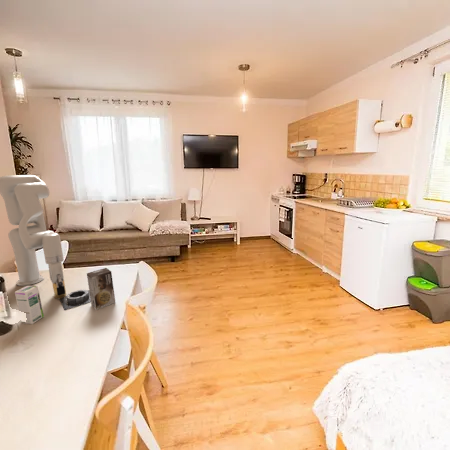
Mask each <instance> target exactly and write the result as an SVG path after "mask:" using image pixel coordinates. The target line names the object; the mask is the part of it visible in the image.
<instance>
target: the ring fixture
mask: <svg viewBox="0 0 450 450" xmlns="http://www.w3.org/2000/svg"><path fill="white" fill-rule="evenodd" d="M59 301H60V304H61V306H62V307H63V309H64V311H66V310H70V309H73V308H77V307H79V306H83V305H85V304H89V303H91V298H90V292H89V289H78V290H74V291H71V292H70V293H68V294H66V296H65V297H63V298H59Z"/></svg>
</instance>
